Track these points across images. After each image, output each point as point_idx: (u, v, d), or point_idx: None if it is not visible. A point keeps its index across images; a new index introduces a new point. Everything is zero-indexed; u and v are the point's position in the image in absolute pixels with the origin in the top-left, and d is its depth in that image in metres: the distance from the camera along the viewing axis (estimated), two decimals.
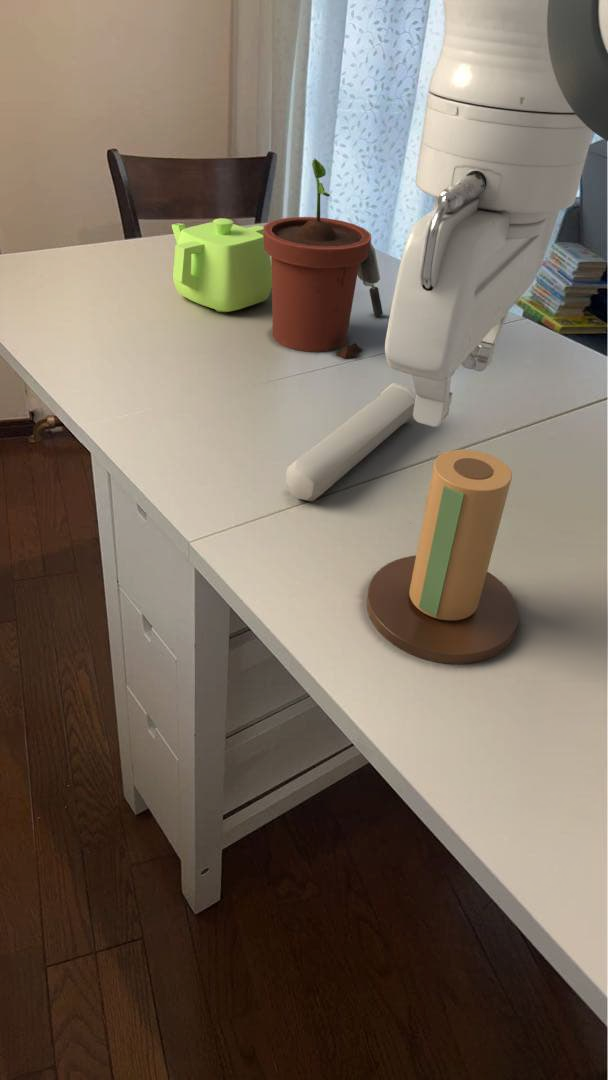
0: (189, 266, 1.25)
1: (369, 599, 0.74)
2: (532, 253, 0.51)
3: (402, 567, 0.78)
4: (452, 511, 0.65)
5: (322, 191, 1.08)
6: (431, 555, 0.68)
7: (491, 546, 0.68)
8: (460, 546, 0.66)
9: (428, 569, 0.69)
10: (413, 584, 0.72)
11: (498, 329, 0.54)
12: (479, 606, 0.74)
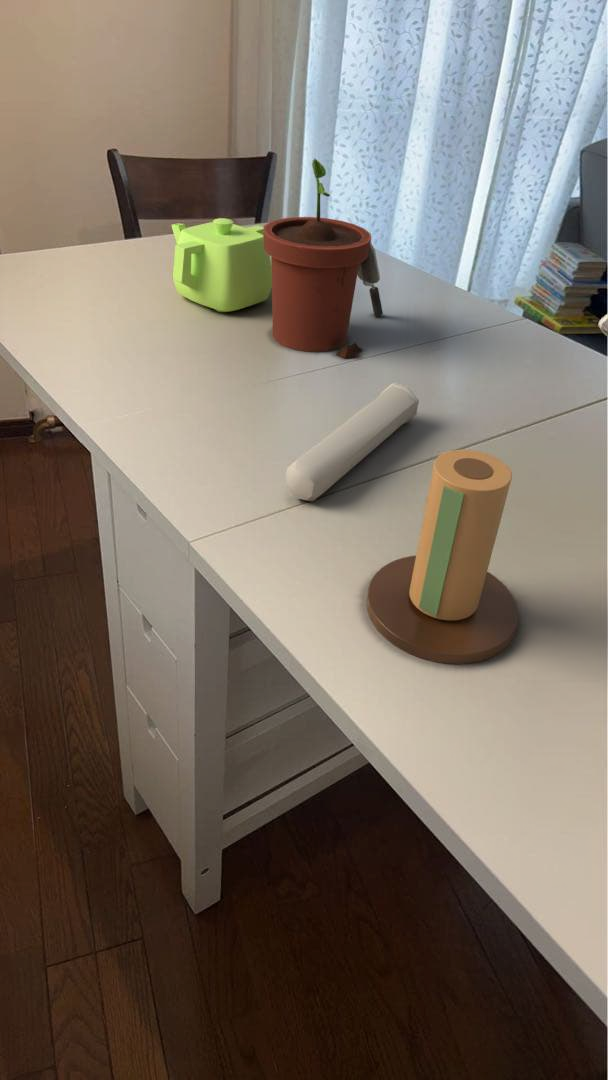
0: (189, 266, 1.25)
1: (369, 599, 0.74)
2: None
3: (402, 567, 0.78)
4: (452, 511, 0.65)
5: (322, 191, 1.08)
6: (431, 555, 0.68)
7: (491, 546, 0.68)
8: (460, 546, 0.66)
9: (428, 569, 0.69)
10: (413, 584, 0.72)
11: None
12: (479, 606, 0.74)
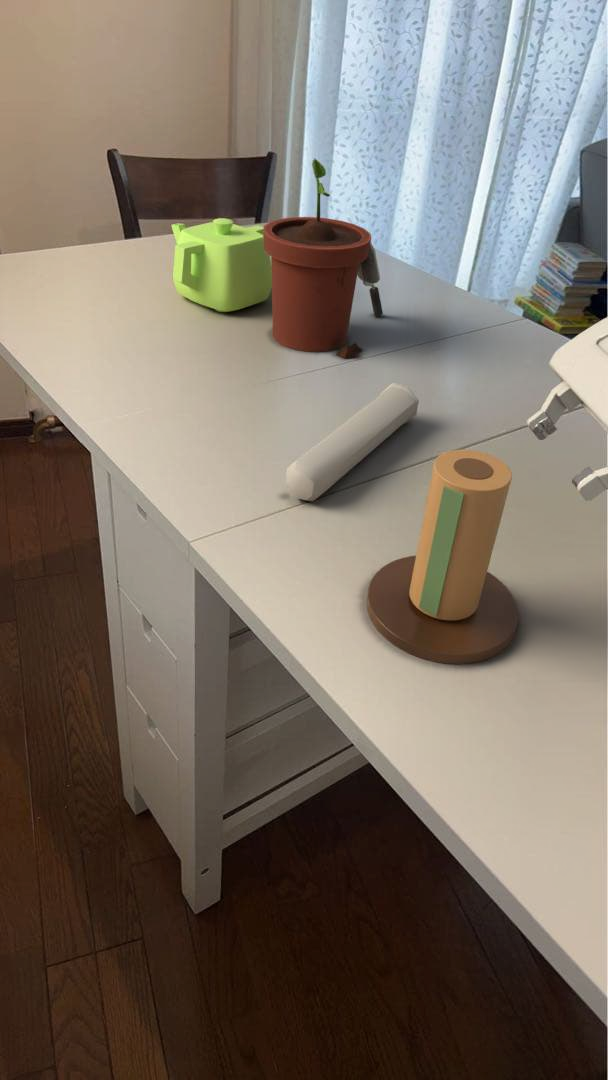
0: (189, 266, 1.25)
1: (369, 599, 0.74)
2: None
3: (402, 567, 0.78)
4: (452, 511, 0.65)
5: (322, 191, 1.08)
6: (431, 555, 0.68)
7: (491, 546, 0.68)
8: (460, 546, 0.66)
9: (428, 569, 0.69)
10: (413, 584, 0.72)
11: (606, 467, 0.61)
12: (479, 606, 0.74)
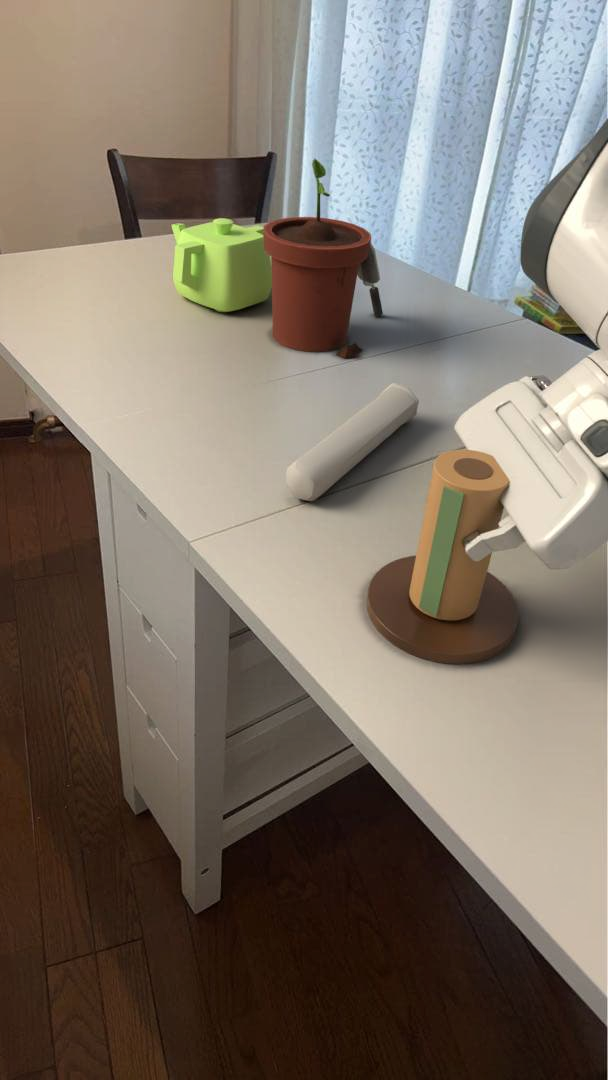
0: (189, 266, 1.25)
1: (369, 599, 0.74)
2: (546, 499, 0.61)
3: (402, 567, 0.78)
4: (453, 511, 0.65)
5: (322, 191, 1.08)
6: (431, 555, 0.68)
7: None
8: (460, 546, 0.66)
9: (428, 569, 0.69)
10: (413, 584, 0.72)
11: (490, 531, 0.64)
12: (479, 606, 0.74)
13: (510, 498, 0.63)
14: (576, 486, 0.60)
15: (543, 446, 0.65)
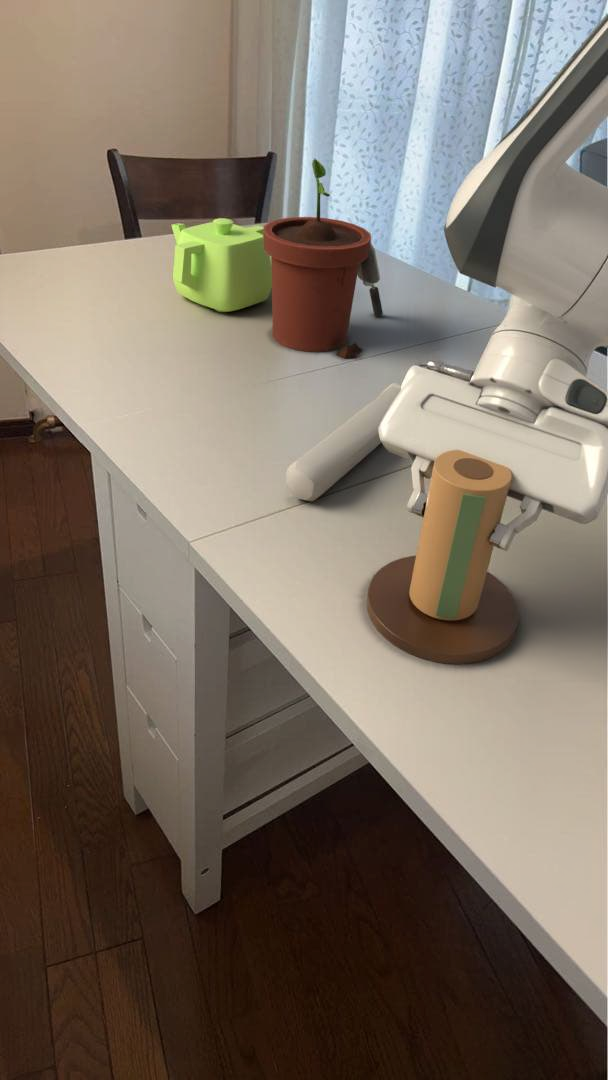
0: (189, 266, 1.25)
1: (369, 599, 0.74)
2: (561, 467, 0.65)
3: (402, 567, 0.78)
4: (473, 515, 0.64)
5: (322, 191, 1.08)
6: (449, 563, 0.67)
7: None
8: (479, 545, 0.67)
9: (446, 577, 0.68)
10: (422, 595, 0.71)
11: None
12: (479, 606, 0.74)
13: (521, 480, 0.66)
14: (582, 445, 0.65)
15: (509, 422, 0.67)
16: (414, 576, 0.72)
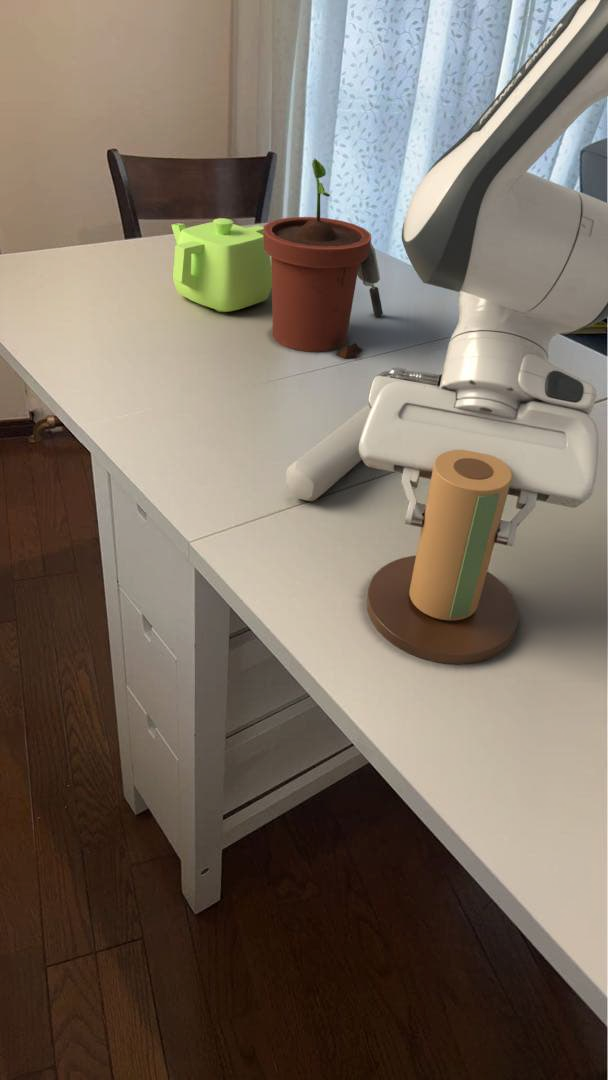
0: (189, 266, 1.25)
1: (369, 599, 0.74)
2: (551, 457, 0.67)
3: (402, 567, 0.78)
4: (488, 515, 0.65)
5: (322, 191, 1.08)
6: (464, 565, 0.67)
7: None
8: (490, 542, 0.67)
9: (461, 579, 0.68)
10: (433, 601, 0.71)
11: (518, 512, 0.67)
12: (479, 606, 0.74)
13: (516, 476, 0.67)
14: (566, 433, 0.67)
15: (490, 421, 0.69)
16: (419, 584, 0.71)
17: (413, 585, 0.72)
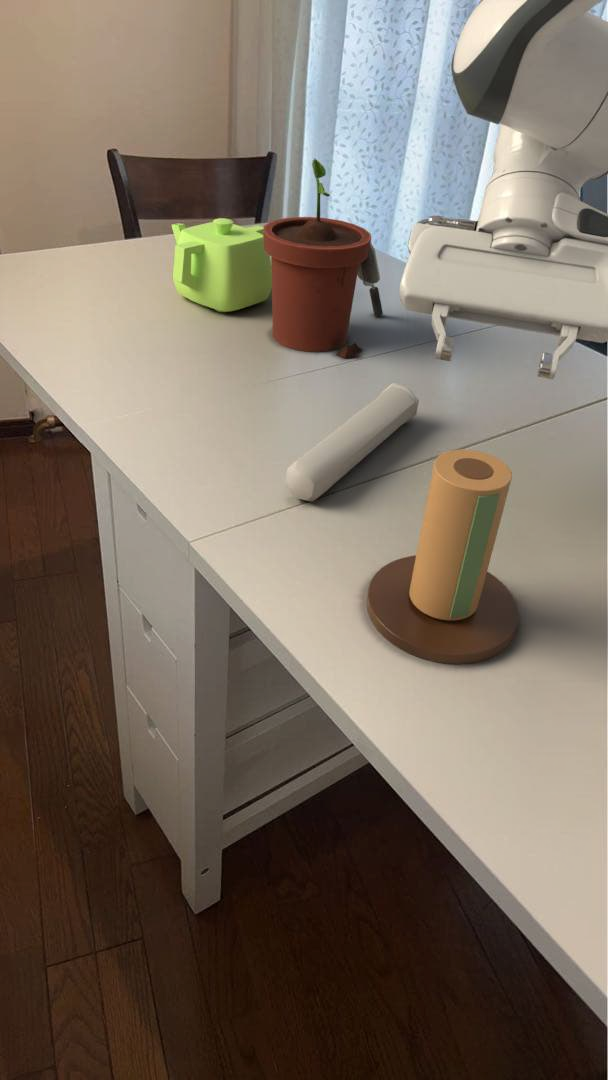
0: (189, 266, 1.25)
1: (369, 599, 0.74)
2: (582, 290, 0.71)
3: (402, 567, 0.78)
4: (488, 515, 0.65)
5: (322, 191, 1.08)
6: (464, 565, 0.67)
7: None
8: (490, 541, 0.67)
9: (461, 579, 0.68)
10: (434, 601, 0.71)
11: (560, 345, 0.72)
12: (479, 606, 0.74)
13: (549, 309, 0.71)
14: (596, 268, 0.71)
15: (525, 259, 0.73)
16: (420, 584, 0.71)
17: (413, 585, 0.72)
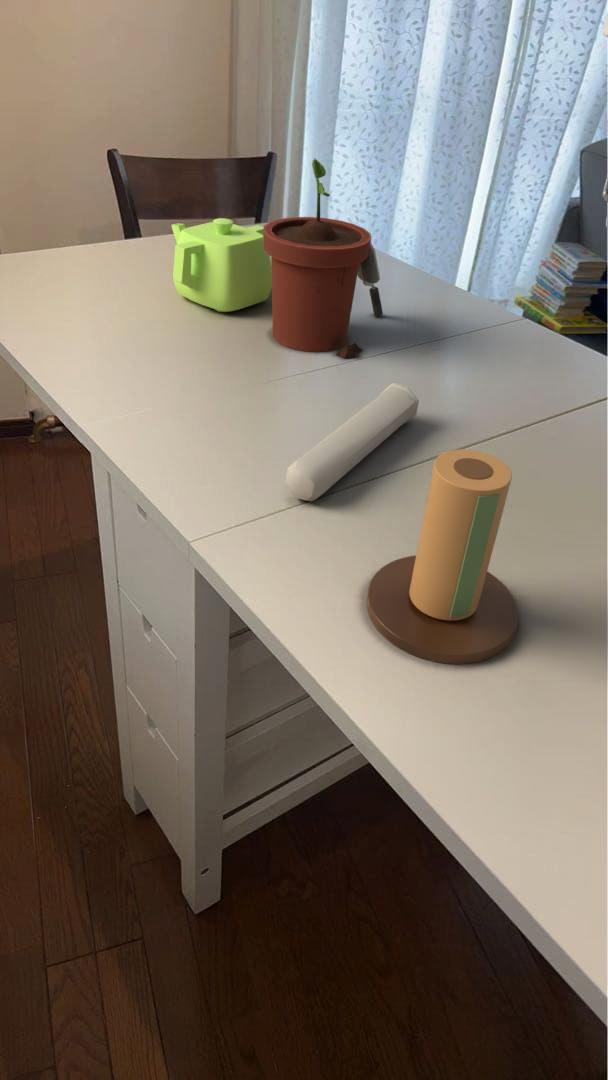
0: (189, 266, 1.25)
1: (369, 599, 0.74)
2: None
3: (402, 567, 0.78)
4: (488, 515, 0.65)
5: (322, 191, 1.08)
6: (464, 565, 0.67)
7: None
8: (490, 541, 0.67)
9: (461, 579, 0.68)
10: (434, 601, 0.71)
11: None
12: (479, 606, 0.74)
13: None
14: None
15: None
16: (420, 584, 0.71)
17: (413, 585, 0.72)
